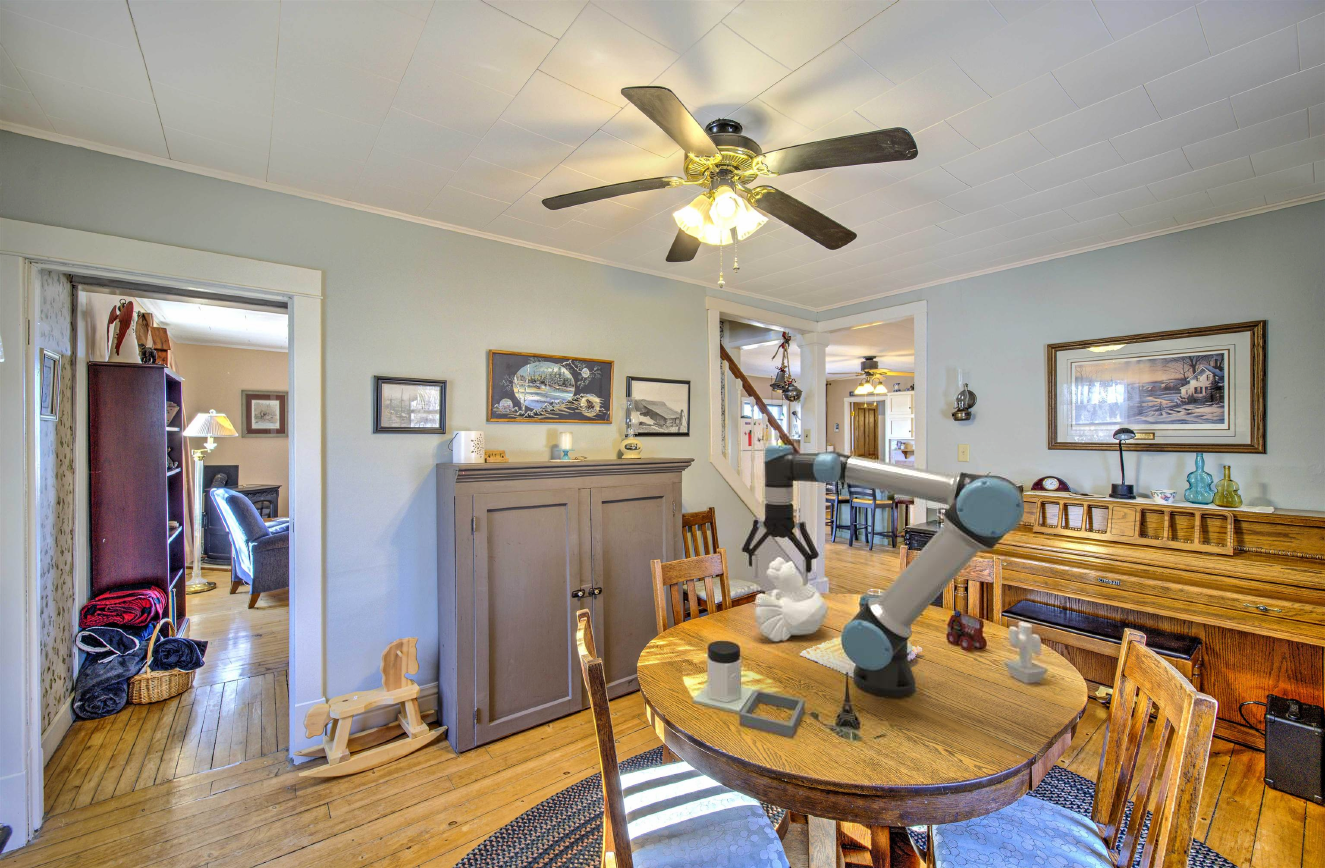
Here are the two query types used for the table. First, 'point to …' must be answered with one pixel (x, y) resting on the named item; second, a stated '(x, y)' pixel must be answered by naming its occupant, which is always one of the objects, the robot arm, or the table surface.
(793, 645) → the table surface
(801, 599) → the decorative rooster
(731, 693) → the jar
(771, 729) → the pocket
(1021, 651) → the figurine
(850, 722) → the eiffel tower figurine
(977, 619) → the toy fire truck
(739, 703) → the coaster
